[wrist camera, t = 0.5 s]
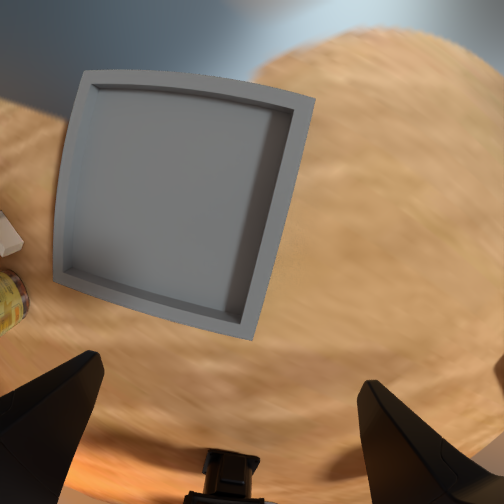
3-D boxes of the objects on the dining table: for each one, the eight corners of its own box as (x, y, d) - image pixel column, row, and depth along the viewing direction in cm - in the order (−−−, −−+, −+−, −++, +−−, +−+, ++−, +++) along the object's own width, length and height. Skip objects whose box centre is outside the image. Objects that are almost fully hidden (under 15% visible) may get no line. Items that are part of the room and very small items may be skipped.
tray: (253, 325, 24) (252, 340, 21) (68, 272, 23) (53, 281, 21) (309, 107, 19) (315, 98, 17) (98, 78, 19) (84, 70, 16)
